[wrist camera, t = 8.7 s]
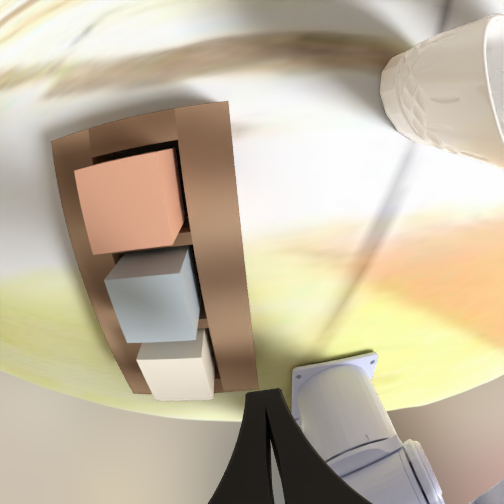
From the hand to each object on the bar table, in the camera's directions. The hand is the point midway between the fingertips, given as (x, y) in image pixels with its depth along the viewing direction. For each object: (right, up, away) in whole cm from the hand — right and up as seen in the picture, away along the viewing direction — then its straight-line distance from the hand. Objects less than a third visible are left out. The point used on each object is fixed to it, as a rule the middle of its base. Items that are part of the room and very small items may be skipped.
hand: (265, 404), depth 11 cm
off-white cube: (-6, 0, +9) cm, 11 cm away
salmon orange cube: (-6, +10, +4) cm, 12 cm away
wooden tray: (-6, +5, +8) cm, 11 cm away
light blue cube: (-6, +5, +7) cm, 10 cm away
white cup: (+11, +17, +5) cm, 21 cm away
